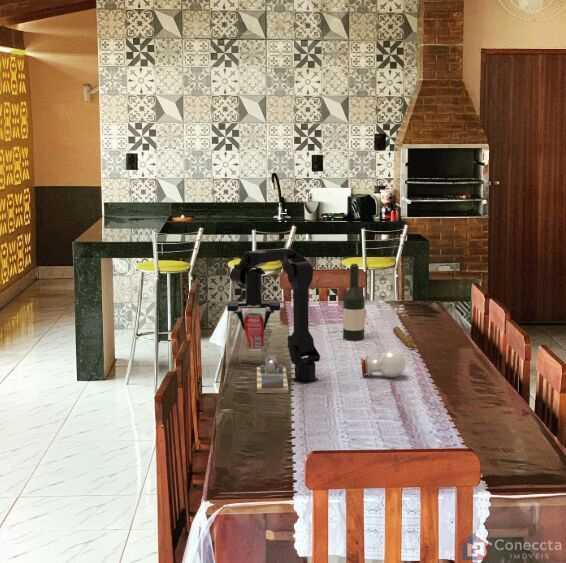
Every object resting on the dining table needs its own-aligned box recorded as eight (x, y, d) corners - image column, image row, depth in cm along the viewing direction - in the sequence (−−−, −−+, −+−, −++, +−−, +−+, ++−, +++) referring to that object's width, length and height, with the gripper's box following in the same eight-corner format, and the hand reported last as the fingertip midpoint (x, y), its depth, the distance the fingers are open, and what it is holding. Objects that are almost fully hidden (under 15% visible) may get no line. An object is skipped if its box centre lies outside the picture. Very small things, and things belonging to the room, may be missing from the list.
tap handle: (400, 326, 405) (415, 342, 375) (400, 333, 405) (415, 350, 376) (392, 326, 404) (407, 343, 375) (392, 333, 405) (407, 350, 375)
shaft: (277, 374, 335) (277, 362, 334) (265, 374, 335) (265, 362, 334) (276, 365, 346) (276, 354, 345) (265, 365, 345) (265, 354, 345)
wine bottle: (364, 341, 390) (365, 265, 385) (343, 341, 390) (344, 265, 385) (363, 336, 398) (364, 262, 393) (342, 336, 398) (343, 262, 393)
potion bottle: (408, 382, 336) (363, 386, 338) (405, 360, 343) (362, 364, 345) (406, 364, 330) (361, 369, 332) (403, 342, 337) (359, 347, 338)
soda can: (253, 344, 359) (253, 311, 357) (268, 347, 354) (267, 314, 352) (240, 348, 353) (239, 314, 351) (255, 350, 349) (254, 317, 347)
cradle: (288, 393, 318) (288, 376, 317) (257, 393, 318) (256, 377, 317) (285, 370, 346) (285, 355, 345) (256, 370, 346) (256, 355, 345)
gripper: (279, 282, 358) (280, 324, 361) (227, 282, 358) (228, 325, 360) (280, 287, 347) (280, 331, 350) (226, 288, 347) (227, 331, 349)
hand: (254, 329), depth 353 cm, fingers closed on soda can, 7 cm apart
